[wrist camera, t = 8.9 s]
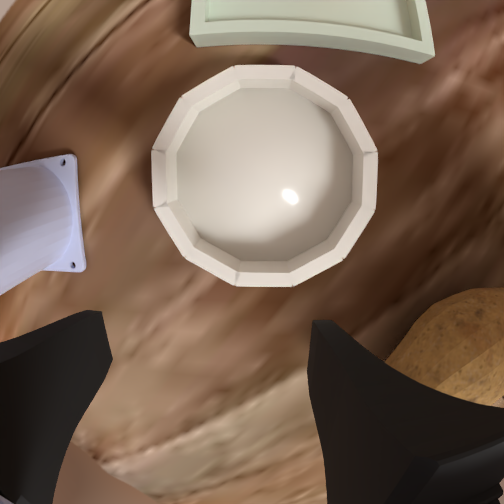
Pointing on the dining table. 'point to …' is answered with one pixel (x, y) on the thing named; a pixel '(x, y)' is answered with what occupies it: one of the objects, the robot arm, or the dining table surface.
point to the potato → (458, 346)
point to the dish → (264, 175)
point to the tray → (317, 25)
